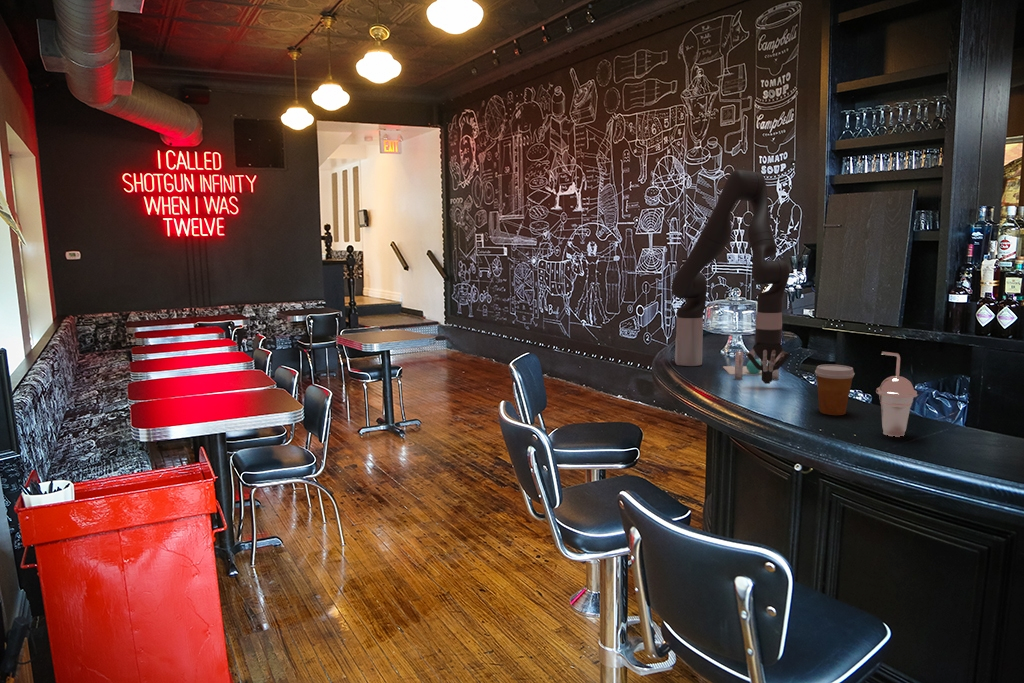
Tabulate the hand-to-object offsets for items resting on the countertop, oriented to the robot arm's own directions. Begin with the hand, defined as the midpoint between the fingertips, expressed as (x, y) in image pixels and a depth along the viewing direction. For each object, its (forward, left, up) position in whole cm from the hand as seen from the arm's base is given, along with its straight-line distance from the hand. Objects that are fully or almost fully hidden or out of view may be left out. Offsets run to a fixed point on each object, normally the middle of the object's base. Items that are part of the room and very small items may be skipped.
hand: (766, 383), depth 215 cm
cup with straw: (+17, -49, -2) cm, 52 cm away
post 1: (-6, +13, -2) cm, 14 cm away
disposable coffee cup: (+10, -29, -2) cm, 31 cm away
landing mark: (0, +27, -2) cm, 27 cm away
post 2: (+6, +13, -2) cm, 14 cm away
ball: (+1, +22, +1) cm, 22 cm away
